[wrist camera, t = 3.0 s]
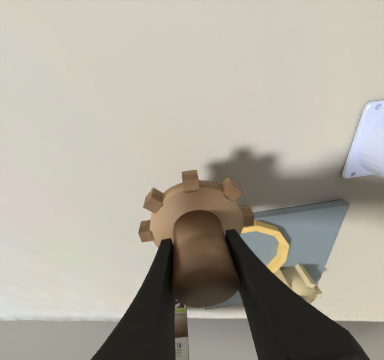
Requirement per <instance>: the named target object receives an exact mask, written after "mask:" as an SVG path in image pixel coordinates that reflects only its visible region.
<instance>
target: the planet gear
mask: <svg viewBox="0 0 384 360" xmlns="http://www.w3.org/2000/svg"><path fill="white" fill-rule="evenodd" d="M182 179H183V183H180V184H177V185H175V186H173V187H171V188H170V189H168V190H167V191H165V192H164V193H162V192H160V191H158V190H157V189H155V188H153V189H152V190H151V191H150V192H149V194H148V195H147V196H146V198H145V202H144V206H143V207H144V208H145V209H147V210H149V211H151V212H152V215H151V220H148V221H141V224H140V228H139V236H140V238H141V241H142V242H147V241H154V243H155V244H156V246H157V247H158V248H159V245H160V242H161V240H162V239H168V238H171V239H172V243H173V295H174V297H175V299H176V300H177V301H179V302H180V303H182V304H185V305H188V306H192V307H208V306H214V305H217V304H220V303H223V302H225V301H227V300H228V299H230V298H231V297H233V296H234V295H235V294H236V292H237V291H238V289H239V287H240V281H239V278H238V275H237V272H236V268H235V265H234V262H233V259H232V256H231V253H230V250H229V247H228V244H227V240H226V234H225V230H230V229H235V230H236V231H237V232H238V234H239V235H240V234H241V232H242V229H243V227H248V226H254V217H255V215H254V214H253V212H252V210H251V209H250V207H249V206H243V207H239V205H238V203H237V201H236V199H237V198H238V197H239V196H240V195H241V194H242V193H243V192H242V190H241V188H240V187H239V185H238V184H237V183H236V182H235V181H233V180H232V179H230V178H229V177H227V178H226V179H225V180H224V182H223V183H222V184H221V185H219V184H217V183H214V182H210V181H203V180H198V175H197V170H192V171H185V172H182Z"/></svg>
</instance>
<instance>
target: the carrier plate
mask: <svg viewBox="0 0 384 360" xmlns="http://www.w3.org/2000/svg"><path fill="white" fill-rule="evenodd" d="M348 207H349V204H348V203H347V202H345V201H344V200H337V201H331V202H324V203H317V204H310V205H304V206H297V207H290V208H283V209H277V210H270V211H263V212H257V213H253V214H254V215H255V217H254V226H248V227H243V229H242V232H241V234H240V236H241V238H242V239H243V240H244V242H245V243H246V244H247V245H248V247H249V248H250V249H251V250H252V251H253V252H254V254H255V255H256V256H257V257H258V258H259V259H260V260H261V261H262V262H263V263H264V264H265V265H266V266H267V267H268V268H269V269H270V270H271V271H272V272H273V273H274V274H275V275H276V276H277V277H278V278H279V279H280V280H281V281H282V282H283V283H285V284H286V285H287V286H288V287H289V288H290V289H292V290H293V291H294V292H295V293H297V294H298V295H299V296H300V297H302V298H303V299H304V300H305V301H307V302H308V303H309V304H310V303H311V302H313V301H314V300H315V298H318V297H321V296H322V292H321V291H320V289H319V288H318V286H317V285H318V283H319V280H320V278H321V275H322V273H323V270H324V268H325V265H326V263H327V260H328V258H329V255H330V253H331V250H332V247H333V245H334V242H335V240H336V237H337V235H338V232H339V230H340V227H341V225H342V222H343V220H344V217H345V215H346V212H347V210H348ZM238 304H243V301H242V298H241V296H240V293H239V290H238V291H237V292H236V294H235V295H234V296H233V297H231V298H230V299H228V300H227V301H225V302H223V303H220V304H217V305H214V306H208V307H205V310H206V309H212V308H218V307H225V306H231V305H238Z"/></svg>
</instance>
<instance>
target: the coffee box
mask: <svg viewBox="0 0 384 360" xmlns="http://www.w3.org/2000/svg"><path fill="white" fill-rule="evenodd" d="M188 348H189V347H188V327H187V306H186V305H185V304H182V303H180V302H179V301H177V300H175V351H176V360H189V349H188Z"/></svg>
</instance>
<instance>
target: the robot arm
mask: <svg viewBox="0 0 384 360" xmlns="http://www.w3.org/2000/svg"><path fill="white" fill-rule="evenodd" d="M376 106H377V107H376ZM375 107H376V108H375ZM375 174H376V175H378V176H380V177H382V178H384V100H377V101H371V102H369V103H367V104H366V105H365V107H364V110H363V113H362V116H361V119H360V122H359V125H358V128H357V131H356V134H355V137H354V140H353V142H352V145H351V148H350V151H349V154H348V157H347V160H346V163H345V166H344V169H343V172H342V177H344V178H346V179H348V178H355V177H361V176H368V175H375ZM225 234H226V240H227V244H228V247H229V250H230V253H231V256H232V259H233V262H234V265H235V268H236V272H237V275H238V278H239V281H240V287H239V289H238V290H239V293H240V296H241V298H242V301H243V304H244V307H245V311H246V315H247V318H248V322H249V326H250V329H251V333H252V337H253V340H254V345H255V348H256V352H257V356H258V360H370V359H369V358H368V356H367V355H366V353H365V352H364V350H363V349H362V348H361V346H360V345H359V344H358V342H357V341H356V340H355V339H354V337H353V336H352V335H351V334H350V332H349V331H348V330H346V329H345V328H343V327H342V326H340V325H339V324H337V323H336V322H334V321H333V320H331V319H330V318H328V317H327V316H326V315H324V314H323V313H321V312H320V311H319V310H317V309H316V308H315V307H313V306H312V305H311V304H309V303H308V302H307V301H305V300H304V299H303V298H302V297H300V296H299V295H298V294H297V293H295V292H294V291H293V290H292V289H290V288H289V287H288V286H287V285H286V284H285V283H283V282H282V281H281V280H280V279H279V278H278V277H277V276H276V275H275V274H274V273H273V272H272V271H271V270H270V269H269V268H268V267H267V266H266V265H265V264H264V263H263V262H262V261H261V260H260V259H259V258H258V257H257V256H256V255H255V254H254V252H253V251H252V250H251V249H250V248H249V247H248V245H247V244H246V243H245V242H244V240H243V239H242V238H241V236H240V235H239V234H238V232H237V231H236V230H235V229H230V230H225ZM175 300H176V299H175V297H174V295H173V243H172V239H171V238H168V239H162V240H161V242H160V245H159V248H158V251H157V253H156V256H155V258H154V261H153V263H152V265H151V268H150V270H149V272H148V274H147V276H146V278H145V280H144V282H143V284H142V286H141V288H140V289H139V291H138V293H137V295H136V297H135V298H134V300H133V302H132V303H131V305H130V306H129V308H128V310H127V311H126V313H125V314H124V316H123V317H122V319H121V320H120V322H119V323H118V325H117V326H116V327H115V329H114V330H113V332H112V333H111V334H110V336H109V337H108V338H107V340H106V341H105V342H104V344H103V345H102V346H101V348H100V349H99V350H98V351H97V353H96V354H95V355H94V356H93V358H92V359H91V360H176V351H175Z"/></svg>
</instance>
